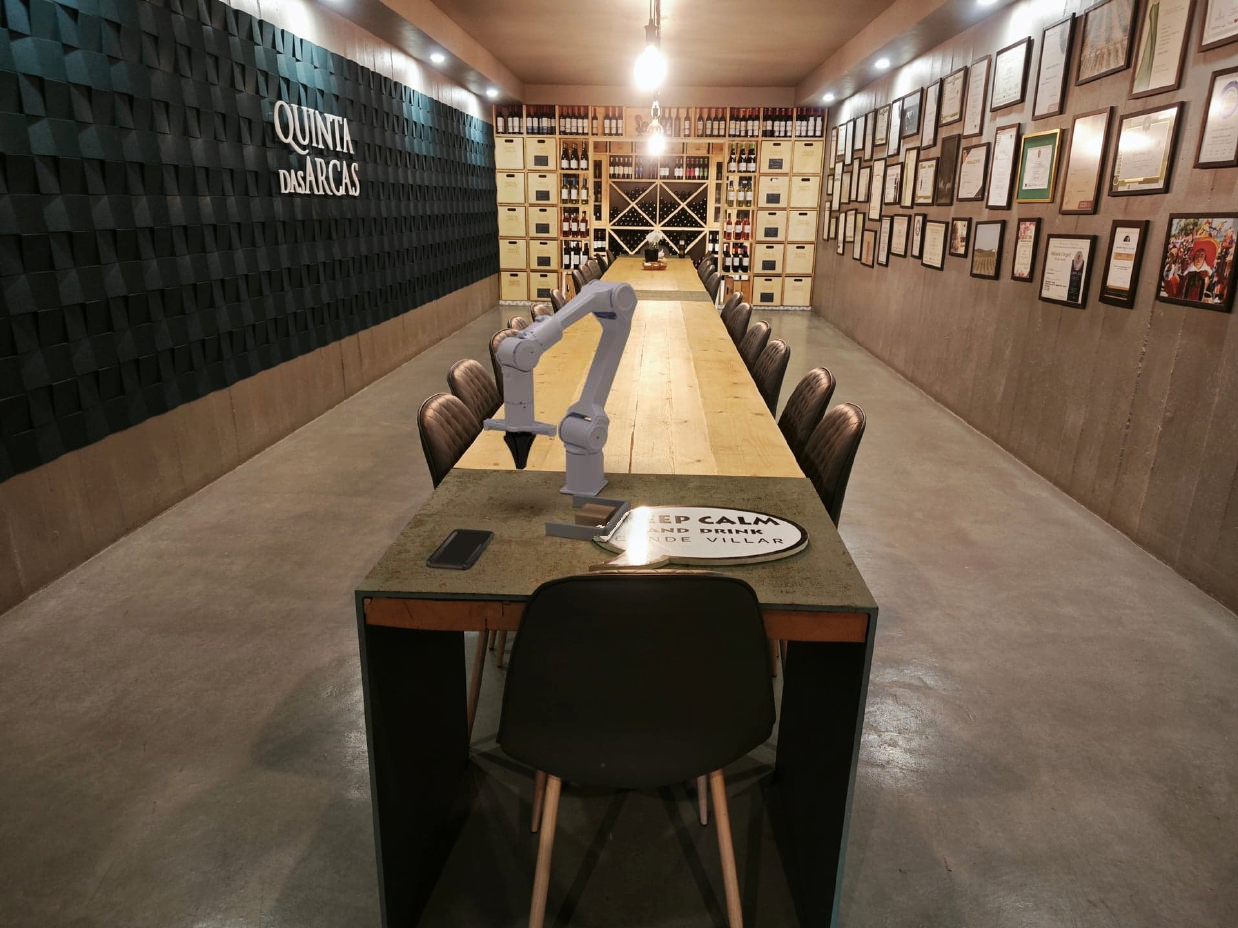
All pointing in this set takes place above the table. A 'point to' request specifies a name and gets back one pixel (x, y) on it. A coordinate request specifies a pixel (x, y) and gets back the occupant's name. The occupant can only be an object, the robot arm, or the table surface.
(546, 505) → the table surface
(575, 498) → the grey u-shaped rail
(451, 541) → the phone
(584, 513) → the walnut tile
